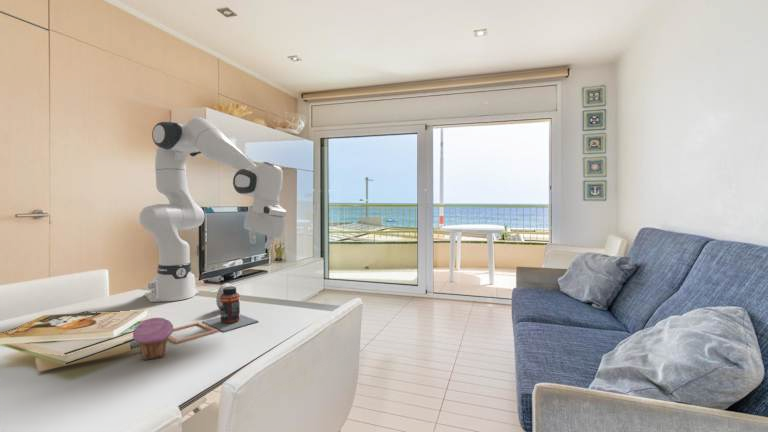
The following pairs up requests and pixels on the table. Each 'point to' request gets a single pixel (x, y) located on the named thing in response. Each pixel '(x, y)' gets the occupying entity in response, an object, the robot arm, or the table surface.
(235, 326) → the mat
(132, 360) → the table surface
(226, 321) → the supplement bottle
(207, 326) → the frame
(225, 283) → the white toy tire
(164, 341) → the cupcake
